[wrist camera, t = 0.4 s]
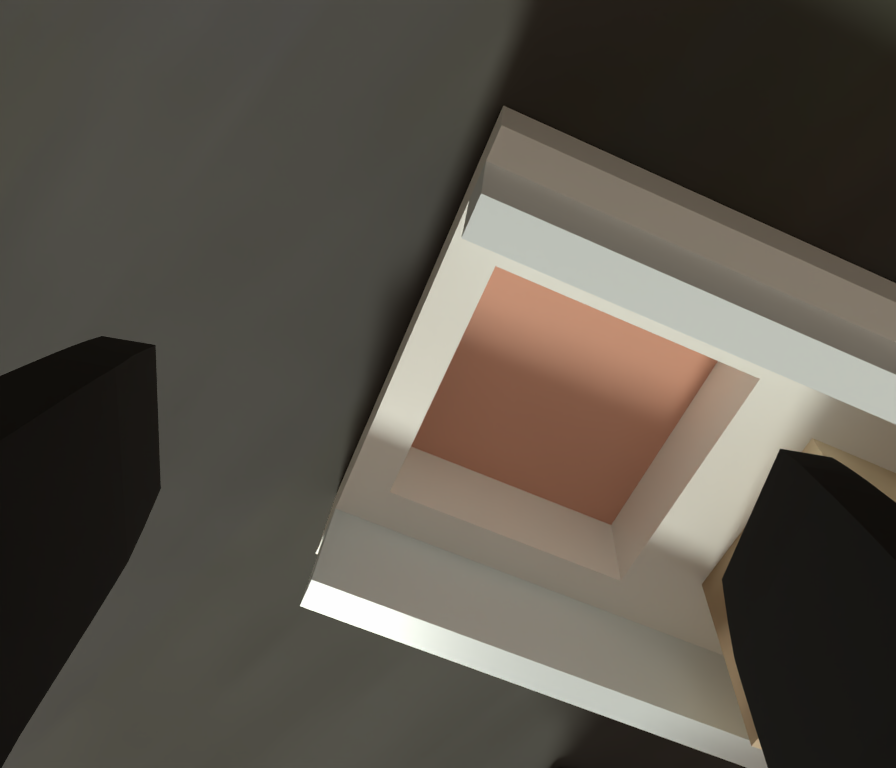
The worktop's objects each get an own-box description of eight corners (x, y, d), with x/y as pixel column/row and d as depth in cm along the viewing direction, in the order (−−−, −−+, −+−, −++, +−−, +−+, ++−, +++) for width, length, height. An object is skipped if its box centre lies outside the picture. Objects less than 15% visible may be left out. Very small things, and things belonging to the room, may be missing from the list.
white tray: (1013, 752, 24) (1124, 926, 20) (336, 494, 22) (290, 627, 17) (1330, 480, 19) (1574, 630, 15) (503, 105, 17) (498, 151, 12)
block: (863, 647, 20) (952, 820, 16) (701, 584, 19) (751, 745, 15) (989, 512, 18) (1129, 671, 14) (812, 437, 17) (903, 579, 13)
